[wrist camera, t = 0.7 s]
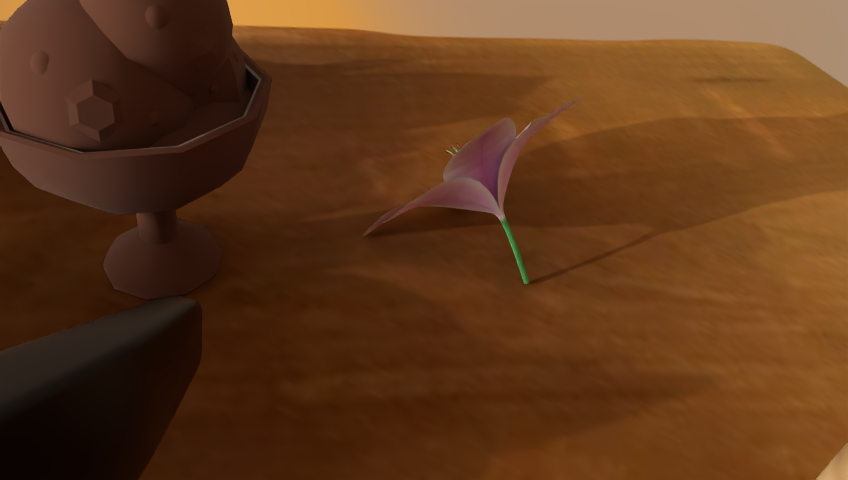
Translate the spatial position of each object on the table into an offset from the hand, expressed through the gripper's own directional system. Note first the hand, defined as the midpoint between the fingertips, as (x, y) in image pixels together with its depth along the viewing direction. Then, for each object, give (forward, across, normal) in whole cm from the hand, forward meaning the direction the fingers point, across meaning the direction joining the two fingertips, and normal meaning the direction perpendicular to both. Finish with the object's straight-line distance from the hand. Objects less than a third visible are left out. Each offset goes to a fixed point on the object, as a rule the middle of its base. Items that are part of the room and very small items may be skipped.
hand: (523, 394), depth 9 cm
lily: (+26, +2, +10) cm, 28 cm away
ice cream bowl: (+21, +16, +11) cm, 29 cm away
